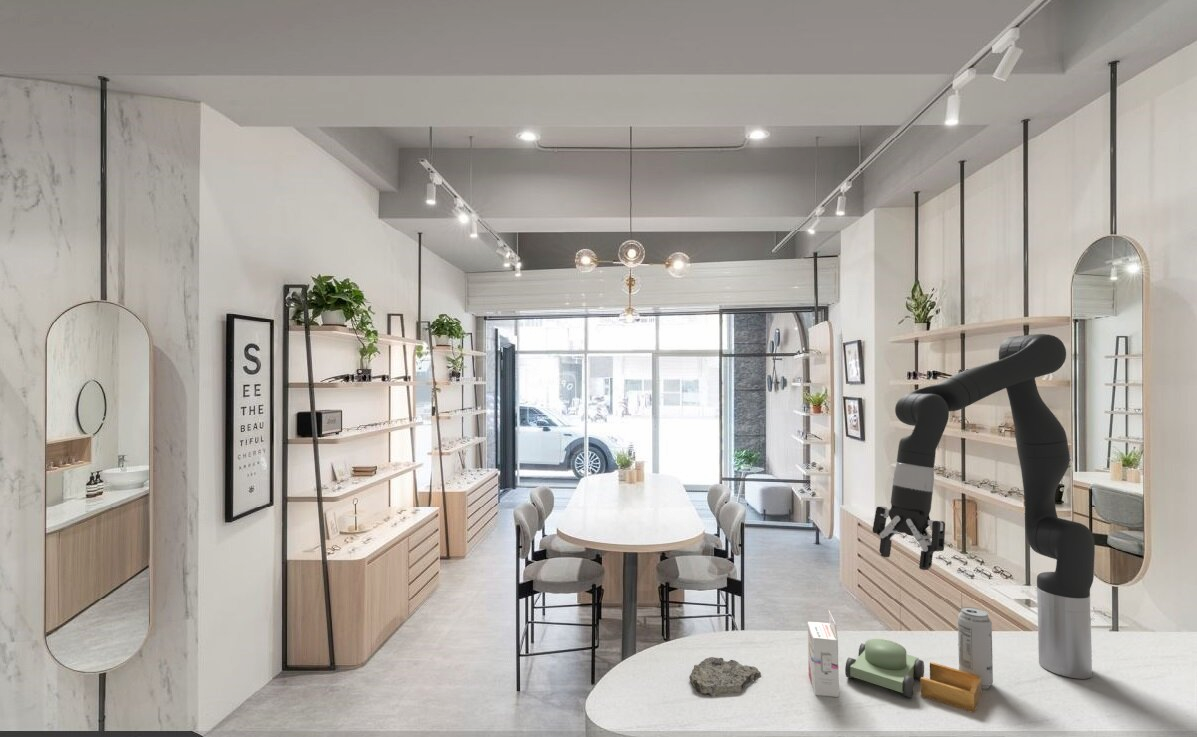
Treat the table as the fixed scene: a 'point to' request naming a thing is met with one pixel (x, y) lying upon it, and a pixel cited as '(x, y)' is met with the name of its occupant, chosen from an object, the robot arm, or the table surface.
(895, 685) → the green toy car
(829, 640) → the ink cartridge box
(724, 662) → the stone slab
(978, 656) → the energy drink can
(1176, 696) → the table surface
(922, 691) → the bracket
